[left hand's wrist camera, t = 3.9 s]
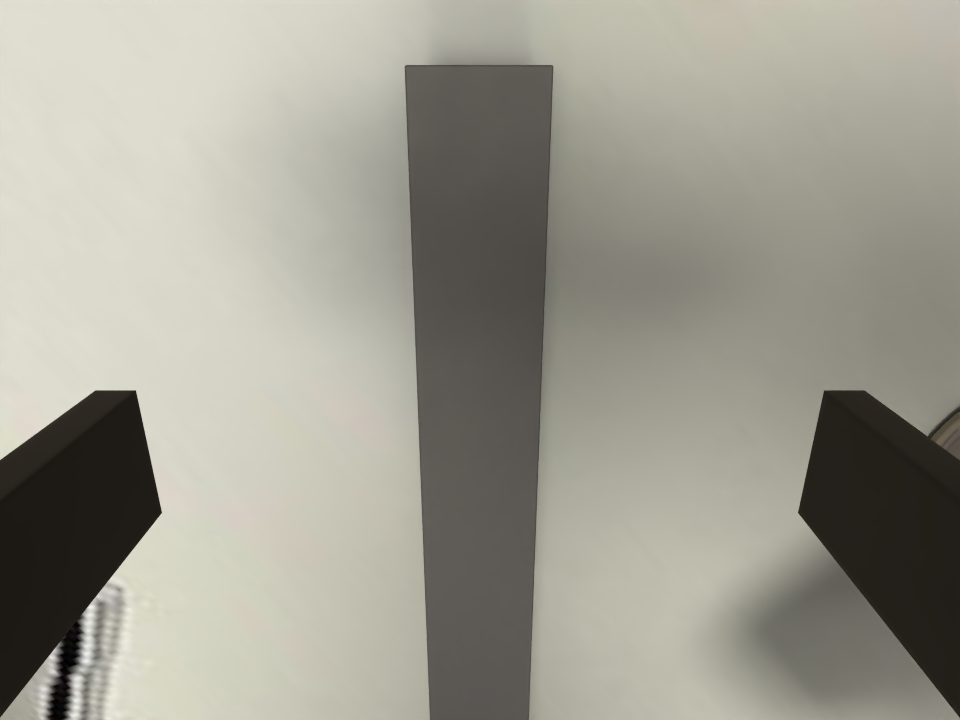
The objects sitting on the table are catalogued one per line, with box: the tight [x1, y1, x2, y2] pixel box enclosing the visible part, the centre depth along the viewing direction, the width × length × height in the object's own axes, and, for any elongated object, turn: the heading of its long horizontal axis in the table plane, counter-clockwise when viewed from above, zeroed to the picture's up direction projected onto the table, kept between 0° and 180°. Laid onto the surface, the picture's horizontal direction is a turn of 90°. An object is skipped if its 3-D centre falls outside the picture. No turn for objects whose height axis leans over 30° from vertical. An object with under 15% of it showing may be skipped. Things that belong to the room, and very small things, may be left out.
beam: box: [405, 65, 553, 720], centre depth 35 cm, size 55×5×8 cm, turn 0°
